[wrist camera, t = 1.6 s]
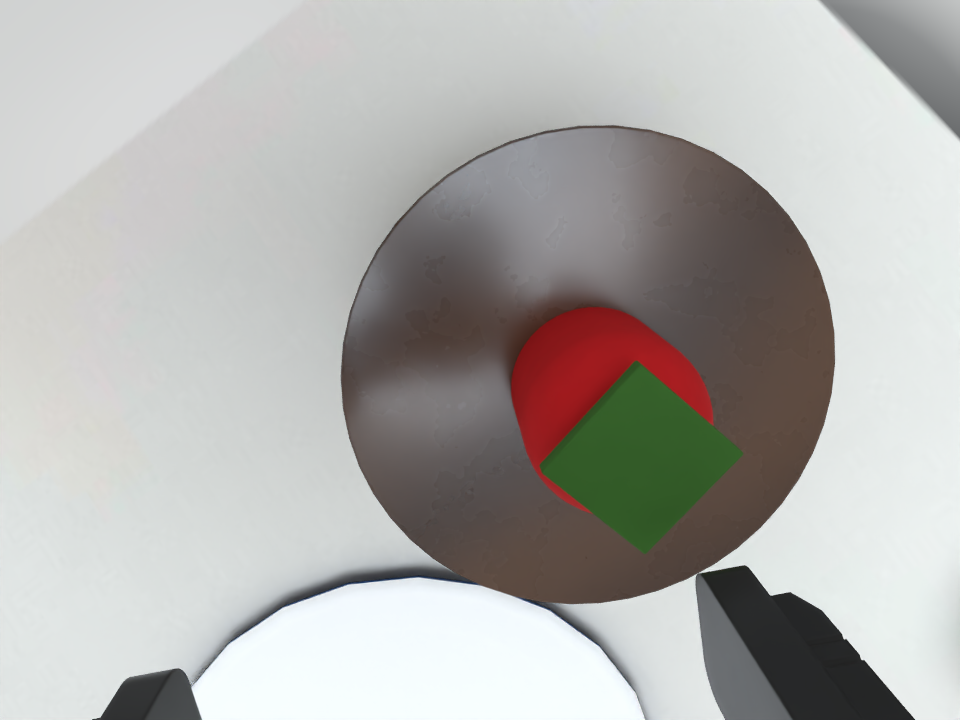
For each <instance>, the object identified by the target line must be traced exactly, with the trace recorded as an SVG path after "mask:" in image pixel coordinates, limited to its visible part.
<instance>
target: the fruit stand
mask: <svg viewBox="0 0 960 720" xmlns="http://www.w3.org/2000/svg"><path fill="white" fill-rule="evenodd" d="M587 307H603V308H611V309H615V310H619V311H622V312H624V313H627V314H629V315H631V316H633V317H635V318H637V319H638V320H640V321H641V322H642V323H644V324H645V325H646V326H648V327H649V328H650V329H651V330H653V331H654V332H655V333H657V334H658V335H659V336H660V337H662V338H663V339H664V340H666V341H667V342H668V343H670V344H671V345H672V346H673V347H675V348H676V349H677V350H679V351H680V352H681V353H682V354H683V355H684V356H685V357H686V358H687V359H688V360H689V361H690V362H691V363H692V365H693V366H694V367H695V369H696V370H697V371H698V373H699V374H700V376H701V378H702V380H703V382H704V384H705V386H706V389H707V391H708V394H709V397H710V400H711V405H712V410H713V423H714V427H715V428H716V429H717V430H719V431H720V432H721V433H722V434H723V435H724V436H725V437H727V438H728V439H729V440H730V441H731V442H732V443H734V444H735V445H736V446H737V447H738V448H739V449H740V450H741V451H742V452H743V456H742V457H741V458H740V459H739V460H738V461H737V462H736V463H735V464H734V465H733V466H732V467H731V468H730V469H729V470H728V471H727V472H726V473H725V474H724V475H723V476H722V477H721V478H720V479H719V480H718V481H717V482H716V483H715V484H714V485H713V486H712V487H711V488H710V489H709V490H708V491H707V492H706V493H705V494H704V495H703V496H702V497H701V498H700V499H699V500H698V501H697V502H696V503H695V504H694V506H693V507H692V508H691V509H690V510H689V511H688V512H687V513H686V514H685V515H684V516H683V517H682V518H681V519H680V520H679V521H678V522H677V523H676V524H675V525H674V526H673V527H672V528H671V529H670V530H669V531H668V532H667V533H666V534H665V535H664V536H663V537H662V538H661V539H660V540H659V541H658V542H657V543H656V544H655V545H654V546H653V547H652V548H651V549H650V550H649V551H648V552H647V553H646V554H643V553H642V552H641V551H639V550H638V549H637V548H636V547H634V546H633V545H632V544H631V543H629V542H628V541H627V540H626V539H624V538H623V537H622V536H620V535H619V534H618V533H617V532H615V531H614V530H613V529H612V528H610V527H609V526H608V525H607V524H605V523H604V522H603V521H602V520H600V519H599V518H598V517H597V516H595V515H594V514H591V513H588V512H585V511H582V510H580V509H578V508H576V507H574V506H572V505H570V504H568V503H567V502H565V501H564V500H562V499H561V498H559V497H558V496H557V495H556V494H555V493H554V492H553V491H551V490H550V489H549V488H548V487H547V486H546V484H545V483H544V482H543V481H542V480H541V478H540V477H539V476H538V474H537V472H536V471H535V469H534V468H533V466H532V464H531V461H530V459H529V457H528V455H527V452H526V449H525V445H524V442H523V438H522V435H521V431H520V428H519V424H518V420H517V417H516V413H515V410H514V406H513V402H512V395H511V382H512V374H513V370H514V366H515V363H516V361H517V358H518V356H519V353H520V352H521V350H522V348H523V347H524V345H525V344H526V342H527V341H528V340H529V338H530V337H531V336H532V335H533V334H534V333H535V332H536V331H537V330H538V329H539V328H540V327H541V326H543V325H544V324H545V323H547V322H548V321H550V320H551V319H553V318H555V317H556V316H559V315H561V314H563V313H566V312H568V311H572V310H575V309H580V308H587ZM834 367H835V343H834V328H833V321H832V315H831V309H830V302H829V299H828V295H827V292H826V289H825V286H824V282H823V279H822V276H821V273H820V270H819V268H818V266H817V264H816V261H815V259H814V257H813V255H812V253H811V251H810V249H809V246H808V244H807V242H806V241H805V239H804V238H803V236H802V235H801V233H800V232H799V230H798V229H797V227H796V225H795V224H794V222H793V221H792V219H791V218H790V216H789V215H788V214H787V213H786V212H785V211H784V209H783V208H782V207H781V206H780V205H779V204H778V203H777V202H776V200H775V199H774V198H773V197H772V196H771V195H770V194H769V192H768V191H767V190H765V189H764V188H763V187H762V186H761V185H759V184H758V183H757V182H756V181H755V180H753V179H752V178H751V177H750V176H749V175H747V174H746V173H745V172H744V171H743V170H741V169H740V168H738V167H736V166H735V165H733V164H732V163H730V162H728V161H727V160H725V159H724V158H722V157H720V156H719V155H717V154H715V153H714V152H712V151H709V150H707V149H705V148H702V147H700V146H698V145H696V144H693V143H691V142H689V141H686V140H684V139H681V138H678V137H674V136H670V135H667V134H663V133H659V132H656V131H652V130H647V129H639V128H631V127H624V126H616V125H605V126H575V127H568V128H562V129H555V130H549V131H543V132H540V133H536V134H533V135H530V136H526V137H523V138H519V139H516V140H513V141H510V142H507V143H505V144H503V145H501V146H498V147H496V148H494V149H492V150H489V151H487V152H485V153H483V154H481V155H478V156H476V157H475V158H473V159H472V160H470V161H468V162H467V163H465V164H463V165H462V166H460V167H459V168H457V169H455V170H454V171H452V172H451V173H449V174H447V175H446V176H445V177H444V178H443V179H441V180H440V181H439V182H438V183H436V184H435V185H434V186H433V187H432V188H430V189H429V190H428V191H427V192H426V193H424V194H423V195H422V196H421V197H420V198H419V199H418V200H417V201H416V202H415V203H414V204H413V205H412V206H411V207H410V209H409V210H408V211H407V212H406V213H405V214H404V215H403V216H402V217H401V218H400V219H399V220H398V221H397V223H396V224H395V225H394V227H393V228H392V230H391V231H390V232H389V234H388V235H387V237H386V238H385V240H384V241H383V242H382V244H381V245H380V247H379V248H378V249H377V251H376V253H375V255H374V257H373V259H372V261H371V262H370V264H369V266H368V268H367V270H366V272H365V274H364V276H363V278H362V280H361V282H360V285H359V288H358V291H357V293H356V296H355V299H354V302H353V304H352V307H351V310H350V313H349V318H348V323H347V328H346V332H345V337H344V342H343V351H342V365H341V387H342V403H343V411H344V416H345V420H346V425H347V430H348V435H349V439H350V442H351V445H352V447H353V450H354V453H355V456H356V459H357V462H358V464H359V467H360V469H361V471H362V473H363V475H364V477H365V479H366V480H367V482H368V484H369V486H370V488H371V490H372V492H373V494H374V495H375V497H376V498H377V500H378V501H379V502H380V504H381V505H382V507H383V508H384V510H385V511H386V512H387V514H388V515H389V517H390V518H391V519H392V520H393V521H394V522H395V523H396V524H397V526H398V527H399V528H400V529H401V530H402V531H403V532H404V533H405V534H406V535H407V536H408V538H409V539H410V540H412V541H413V542H414V543H415V544H416V545H418V546H419V547H420V548H421V549H422V550H424V551H425V552H426V553H427V554H428V555H429V556H431V557H432V558H433V559H435V560H436V561H438V562H439V563H441V564H442V565H444V566H446V567H447V568H449V569H450V570H452V571H453V572H455V573H457V574H458V575H460V576H462V577H465V578H467V579H469V580H471V581H473V582H475V583H477V584H479V585H482V586H484V587H486V588H489V589H492V590H495V591H498V592H502V593H505V594H508V595H511V596H515V597H520V598H525V599H530V600H535V601H540V602H550V603H563V604H587V603H603V602H610V601H616V600H623V599H629V598H633V597H637V596H640V595H644V594H648V593H651V592H655V591H659V590H661V589H664V588H666V587H668V586H671V585H673V584H676V583H678V582H681V581H683V580H686V579H688V578H690V577H692V576H693V575H695V574H697V573H699V572H701V571H703V570H705V569H706V568H708V567H710V566H712V565H714V564H715V563H717V562H718V561H719V560H721V559H722V558H724V557H725V556H727V555H728V554H729V553H731V552H732V551H734V550H735V549H737V548H738V547H739V546H740V545H741V544H743V543H744V542H745V541H746V540H747V539H748V538H749V537H750V536H752V535H753V534H754V533H755V532H756V531H757V530H758V529H759V528H761V526H762V525H763V524H764V523H765V522H766V521H767V520H768V519H769V518H770V516H771V515H772V514H773V513H774V512H775V511H776V510H777V509H778V508H779V506H780V505H781V504H782V503H783V501H784V500H785V498H786V497H787V495H788V494H789V493H790V491H791V490H792V488H793V487H794V486H795V484H796V483H797V481H798V480H799V478H800V476H801V474H802V472H803V470H804V469H805V467H806V465H807V463H808V461H809V459H810V457H811V456H812V454H813V451H814V449H815V446H816V444H817V441H818V439H819V436H820V433H821V431H822V428H823V426H824V422H825V418H826V414H827V410H828V406H829V402H830V398H831V394H832V385H833V376H834Z"/></svg>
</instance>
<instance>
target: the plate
mask: <svg viewBox="0 0 960 720" xmlns="http://www.w3.org/2000/svg"><path fill="white" fill-rule="evenodd" d="M191 689H192V692H193V695H194V698H195V701H196V704H197V706H198V709H199V712H200V715H201V718H202V720H645V718H644V715H643V712H642V709H641V707H640V704H639V701H638V699H637V696H636V693H635V691H634V690H633V688H632V687H631V686H630V684H629V683H628V682H627V681H626V679H625V678H624V677H623V675H622V674H621V673H620V672H619V670H618V669H617V668H616V666H615V665H614V664H613V662H612V661H611V660H610V659H609V657H608V656H607V655H606V653H605V652H604V651H603V650H602V648H601V647H600V646H599V645H598V644H597V643H595V642H594V641H593V640H591V639H590V638H589V637H587V636H586V635H584V634H583V633H582V632H580V631H579V630H578V629H576V628H575V627H573V626H572V625H571V624H569V623H568V622H567V621H565V620H564V619H562V618H561V617H560V616H558V615H557V614H556V613H554V612H553V611H551V610H550V609H549V608H546V607H543V606H541V605H538V604H536V603H533V602H531V601H528V600H525V599H523V598H520V597H515V596H511V595H508V594H505V593H502V592H498V591H495V590H492V589H489V588H486V587H484V586H482V585H479V584H477V583H471V582H463V581H456V580H448V579H440V578H433V577H425V576H410V577H400V578H391V579H381V580H371V581H362V582H352V583H347V584H344V585H341V586H338V587H335V588H333V589H330V590H327V591H324V592H321V593H319V594H316V595H313V596H310V597H307V598H304V599H302V600H299V601H296V602H293V603H290V604H287V605H285V606H283V607H281V608H280V609H278V610H277V611H275V612H274V613H272V614H271V615H269V616H268V617H266V618H265V619H263V620H262V621H260V622H259V623H257V624H256V625H254V626H253V627H251V628H250V629H249V630H247V631H246V632H244V633H243V634H241V635H240V636H238V637H237V638H235V639H234V640H232V641H231V642H229V644H228V645H227V646H226V647H225V648H224V649H223V651H222V652H221V653H220V654H219V655H218V656H217V658H216V659H215V660H214V661H213V662H212V664H211V665H210V666H209V667H208V668H207V669H206V671H205V672H204V673H203V674H202V675H201V676H200V678H199V679H198V680H197V681H196V682H195V683H194V685H193V686H192V687H191Z"/></svg>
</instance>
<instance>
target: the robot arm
mask: <svg viewBox="0 0 960 720" xmlns="http://www.w3.org/2000/svg"><path fill="white" fill-rule="evenodd" d="M696 594H697V602H698V611H699V620H700V628H701V637H702V646H703V655H704V662H705V667H706V672H707V676H708V679H709V683H710V686H711V689H712V692H713V695H714V697H715V700H716V702H717V704H718V706H719V708H720V710H721V712H722V714H723V716H724V718H725V720H915V719H914V718H913V717H912V716H911V714H910V713H909V712H908V711H907V710H906V709H905V707H904V706H903V705H902V704H901V703H900V702H899V700H898V699H897V698H896V697H895V696H894V695H893V693H892V692H891V691H890V690H889V689H888V688H887V686H886V685H885V684H884V683H883V682H882V680H881V679H880V678H879V677H878V676H877V675H876V673H875V672H874V671H873V670H872V669H871V668H870V666H869V665H868V664H867V663H866V662H865V661H864V660H861V658H860V655H859V654H858V652H857V651H856V650H855V649H854V648H853V647H852V645H851V644H850V643H849V642H848V641H847V639H845V640H844V639H843V636H842V634H841V632H840V631H839V630H838V629H837V628H836V627H835V625H834V624H833V623H832V622H831V621H830V620H829V618H828V617H827V616H826V615H825V614H824V613H823V611H822V610H820V609H818V608H817V607H815V606H813V605H812V604H810V603H808V602H806V601H805V600H803V599H801V598H799V597H798V596H796V595H794V594H792V593H791V592H789V593H784V594H778V595H773V596H770V595H769V594H768V592H767V591H766V590H765V588H764V587H763V586H762V584H761V583H760V582H759V580H758V579H757V578H756V577H755V575H754V574H753V573H752V571H751V570H750V569H749V568H748V567H747V566H745V565H744V566H738V567H733V568H727V569H722V570H716V571H711V572H706V573H700V574H697V576H696ZM92 720H202V718H201V715H200V712H199V709H198V706H197V704H196V701H195V698H194V695H193V692H192V689H191V686H190V683H189V680H188V678H187V676H186V674H185V673H184V672H183V671H182V670H181V669H172V670H166V671H161V672H156V673H150V674H145V675H139V676H134V677H129V678H127V679H126V680H125V681H124V682H123V683H122V685H121V686H120V688H119V689H118V691H117V692H116V694H115V696H114V697H113V699H112V700H111V702H110V703H109V705H108V707H107V708H106V710H105V711H104V713H103V714H102V716H101V718H97V719H92Z"/></svg>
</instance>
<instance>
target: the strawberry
mask: <svg viewBox="0 0 960 720" xmlns="http://www.w3.org/2000/svg"><path fill="white" fill-rule="evenodd" d="M511 395H512V402H513V406H514V410H515V413H516V417H517V420H518V424H519V428H520V431H521V435H522V438H523V442H524V445H525V449H526V452H527V455H528V457H529V459H530V461H531V464H532V466H533V468H534V469H535V471H536V472H537V474H538V476H539V477H540V478H541V480H542V481H543V482H544V483H545V484H546V486H547V487H548V488H549V489H550V490H551V491H553V492H554V493H555V494H556V495H557V496H558V497H559V498H561V499H562V500H564V501H565V502H567V503H568V504H570V505H572V506H574V507H576V508H578V509H580V510H582V511H585V512H588V513H591V514H594V515H595V516H597V517H598V518H599V519H600V520H602V521H603V522H604V523H605V524H607V525H608V526H609V527H610V528H612V529H613V530H614V531H615V532H617V533H618V534H619V535H620V536H622V537H623V538H624V539H626V540H627V541H628V542H629V543H631V544H632V545H633V546H634V547H636V548H637V549H638V550H639V551H641V552H642V553H643V554H646V553H647V552H648V551H649V550H650V549H651V548H652V547H653V546H654V545H655V544H656V543H657V542H658V541H659V540H660V539H661V538H662V537H663V536H664V535H665V534H666V533H667V532H668V531H669V530H670V529H671V528H672V527H673V526H674V525H675V524H676V523H677V522H678V521H679V520H680V519H681V518H682V517H683V516H684V515H685V514H686V513H687V512H688V511H689V510H690V509H691V508H692V507H693V506H694V504H695V503H696V502H697V501H698V500H699V499H700V498H701V497H702V496H703V495H704V494H705V493H706V492H707V491H708V490H709V489H710V488H711V487H712V486H713V485H714V484H715V483H716V482H717V481H718V480H719V479H720V478H721V477H722V476H723V475H724V474H725V473H726V472H727V471H728V470H729V469H730V468H731V467H732V466H733V465H734V464H735V463H736V462H737V461H738V460H739V459H740V458H741V457H742V456H743V452H742V451H741V450H740V449H739V448H738V447H737V446H736V445H735V444H734V443H732V442H731V441H730V440H729V439H728V438H727V437H725V436H724V435H723V434H722V433H721V432H720V431H719V430H717V429H716V428H715V427H714V423H713V410H712V405H711V400H710V397H709V394H708V391H707V389H706V386H705V384H704V382H703V380H702V378H701V376H700V374H699V373H698V371H697V370H696V369H695V367H694V366H693V365H692V363H691V362H690V361H689V360H688V359H687V358H686V357H685V356H684V355H683V354H682V353H681V352H680V351H679V350H677V349H676V348H675V347H673V346H672V345H671V344H670V343H668V342H667V341H666V340H664V339H663V338H662V337H660V336H659V335H658V334H657V333H655V332H654V331H653V330H651V329H650V328H649V327H648V326H646V325H645V324H644V323H642V322H641V321H640V320H638V319H637V318H635V317H633V316H631V315H629V314H627V313H624V312H622V311H619V310H615V309H611V308H603V307H587V308H580V309H575V310H572V311H568V312H566V313H563V314H561V315H559V316H556V317H555V318H553V319H551V320H550V321H548V322H547V323H545V324H544V325H543V326H541V327H540V328H539V329H538V330H537V331H536V332H535V333H534V334H533V335H532V336H531V337H530V338H529V340H528V341H527V342H526V344H525V345H524V347H523V348H522V350H521V352H520V353H519V356H518V358H517V361H516V363H515V366H514V370H513V374H512V382H511Z"/></svg>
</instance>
